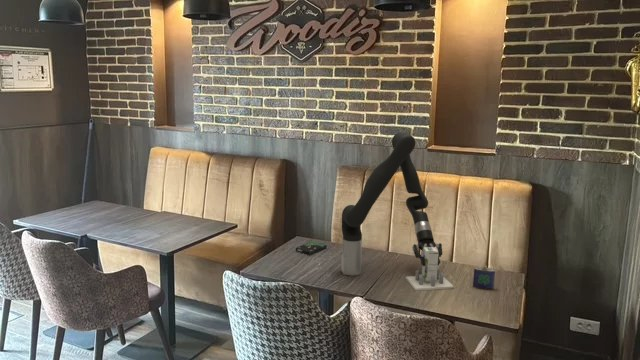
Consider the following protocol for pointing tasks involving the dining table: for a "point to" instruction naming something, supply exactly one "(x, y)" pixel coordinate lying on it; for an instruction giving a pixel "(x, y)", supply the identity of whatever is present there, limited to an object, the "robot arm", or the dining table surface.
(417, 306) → the dining table surface
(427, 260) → the syrup box
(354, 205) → the robot arm
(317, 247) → the disk drive
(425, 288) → the dock
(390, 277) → the dining table surface
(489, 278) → the flask
